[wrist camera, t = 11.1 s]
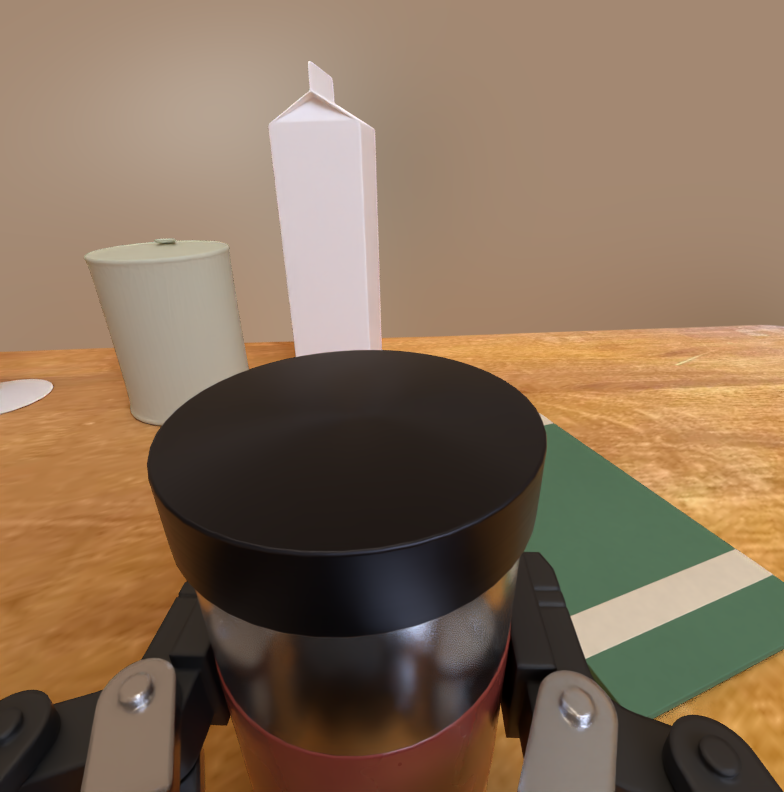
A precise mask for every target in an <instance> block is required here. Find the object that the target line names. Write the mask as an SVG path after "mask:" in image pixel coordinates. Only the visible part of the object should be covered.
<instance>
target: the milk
mask: <svg viewBox="0 0 784 792" xmlns="http://www.w3.org/2000/svg"><path fill="white" fill-rule="evenodd" d="M308 74H309V85H310V89H309V91H308V92H307V93H306V94H305V95H304V96H302V97H301V98H300V99H299V100H297V101H296V102H295V103H294V104H292V105H291V106H290V107H289V108H287V109H286V110H285V111H284V112H283V113H281V114H280V115H279V116H278V117H277V118H275V119H274V120H273V121H272V122H270V123H269V125H268V130H269V138H270V146H271V155H272V163H273V172H274V180H275V187H276V197H277V205H278V213H279V221H280V230H281V238H282V246H283V254H284V263H285V271H286V280H287V287H288V296H289V305H290V312H291V321H292V330H293V337H294V346H295V354H296V357H299V356H304V355H311V354H317V353H325V352H335V351H350V350H382V341H381V308H380V278H379V277H380V276H379V243H378V210H377V176H376V142H375V129H374V128H372V127H371V126H369V125H368V124H366V123H364V122H363V121H361V120H360V119H358V118H357V117H355V116H353V115H352V114H350V113H349V112H347V111H346V110H344V109H342V108H341V107H340V106H338V105H336V104H335V102H334V90H333V80H332V77H330V76H329V75H328V74H327V73H325V72H324V71H323V70H321V69H320V68H319V67H318V66H316V65H315V64H314V63H312V62H311V61H309V62H308Z"/></svg>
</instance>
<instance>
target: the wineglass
mask: <svg viewBox="0 0 784 792" xmlns="http://www.w3.org/2000/svg"><path fill="white" fill-rule="evenodd" d="M52 388H53V385H52V383H51V382H49V381H46V380H40V379H25V380H15V381H8V382H2V383H0V414H2V413H5V412H9V411H13V410H16V409H18V408H21V407H24V406H26V405H29V404H31V403H33V402H35V401H37V400H39V399H41V398H43V397H44V396H46V395H47V394H48V393H50V392H51V390H52Z"/></svg>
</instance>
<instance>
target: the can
mask: <svg viewBox="0 0 784 792" xmlns="http://www.w3.org/2000/svg"><path fill="white" fill-rule="evenodd" d="M229 249H230V248H229V245H228V244H226V243H223V242H216V241H201V240H188V241H176V239H173V238H170V239H156V240H154V242H151V243H139V244H130V245H122V246H116V247H110V248H105V249H100V250H96V251H93V252H90V253H87V254H86V255H85V256H84V259H85V261H86V263H87V265H88V267H89V270H90V273H91V276H92V279H93V282H94V285H95V288H96V292H97V295H98V298H99V301H100V304H101V306H102V310H103V313H104V316H105V319H106V323H107V326H108V329H109V332H110V335H111V339H112V342H113V345H114V348H115V352H116V355H117V358H118V361H119V365H120V368H121V371H122V375H123V378H124V381H125V385H126V389H127V392H128V396H129V400H130V409H131V413H132V415H133V416H134V417H135V418H136V419H138V420H140V421H142V422H145V423H148V424H153V425H163V423H164V422H165V421H166V420H167V419H168V418H169V417H170V416H171V415H172V414H173V413H174V412H175V410H177V409H178V408H179V407H180V406H182V405H183V404H184V403H185V402H187V401H188V400H189V399H191V398H192V397H194V396H195V395H197V394H198V393H200V392H201V391H203V390H205V389H207V388H208V387H210V386H212V385H214V384H216V383H218V382H220V381H222V380H224V379H227V378H229V377H231V376H233V375H236V374H238V373H241V372H244V371H246V370H249V367H248V362H247V356H246V351H245V345H244V339H243V334H242V329H241V322H240V316H239V311H238V305H237V298H236V292H235V287H234V280H233V274H232V268H231V261H230V252H229Z"/></svg>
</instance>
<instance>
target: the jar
mask: <svg viewBox="0 0 784 792" xmlns="http://www.w3.org/2000/svg"><path fill="white" fill-rule="evenodd" d="M546 451H547V434H546V431H545V428H544V424H543V421H542V419H541V417H540V415H539V413H538V412H537V410H536V408H535V407H534V406H533V404H532V403H531V402H530V401H529V400H528V399H527V397H525V396H524V395H523V394H522V393H521V392H520V391H518V390H517V389H516V388H515V387H513V386H512V385H510V384H509V383H507V382H506V381H504V380H503V379H501V378H499V377H497V376H495V375H493V374H491V373H489V372H486V371H484V370H482V369H479V368H477V367H474V366H471V365H468V364H465V363H462V362H459V361H455V360H451V359H447V358H443V357H438V356H432V355H427V354H420V353H413V352H403V351H391V350H350V351H335V352H325V353H317V354H311V355H304V356H299V357H294V358H289V359H284V360H280V361H276V362H272V363H268V364H265V365H262V366H259V367H255V368H252V369H249V370H246V371H244V372H241V373H238V374H236V375H233V376H231V377H229V378H227V379H224V380H222V381H220V382H218V383H216V384H214V385H212V386H210V387H208V388H207V389H205V390H203V391H201V392H200V393H198V394H197V395H195V396H194V397H192V398H191V399H189V400H188V401H187V402H185V403H184V404H183V405H182V406H180V407H179V408H178V409H177V410H175V412H174V413H173V414H172V415H171V416H170V417H169V418H168V419H167V420H166V421H165V422H164V423H163V425H162V426H161V428H160V429H159V431H158V432H157V433H156V435H155V438H154V440H153V442H152V444H151V447H150V450H149V456H148V462H147V469H148V479H149V483H150V486H151V489H152V492H153V495H154V499H155V502H156V505H157V508H158V511H159V514H160V518H161V521H162V524H163V527H164V530H165V534H166V537H167V540H168V543H169V546H170V549H171V552H172V555H173V557H174V560H175V562H176V565H177V567H178V568H179V570H180V571H181V573H182V574H183V576H184V577H185V579H186V580H187V582H188V583H189V584H190V585H191V586H192V587H193V588H194V589H195V591H196V594H197V597H198V601H199V604H200V607H201V611H202V614H203V618H204V621H205V624H206V628H207V631H208V634H209V638H210V641H211V644H212V648H213V651H214V657H215V662H216V667H217V672H218V675H219V678H220V682H221V685H222V688H223V692H224V695H225V698H226V702H227V705H228V708H229V712H230V715H231V718H232V722H233V725H234V728H235V731H236V735H237V738H238V741H239V745H240V748H241V751H242V755H243V758H244V761H245V765H246V768H247V771H248V775H249V778H250V781H251V785H252V788H253V791H254V792H486V790H487V783H488V776H489V772H490V767H491V762H492V758H493V751H494V744H495V738H496V731H497V724H498V717H499V710H500V703H501V697H502V690H503V683H504V676H505V669H506V662H507V655H508V649H509V642H510V630H511V615H512V608H513V601H514V594H515V588H516V581H517V574H518V567H519V560H520V556H521V555H522V553H523V552H524V550H525V548H526V546H527V544H528V542H529V540H530V537H531V535H532V533H533V529H534V524H535V520H536V515H537V509H538V503H539V496H540V490H541V483H542V477H543V471H544V464H545V458H546Z"/></svg>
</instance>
